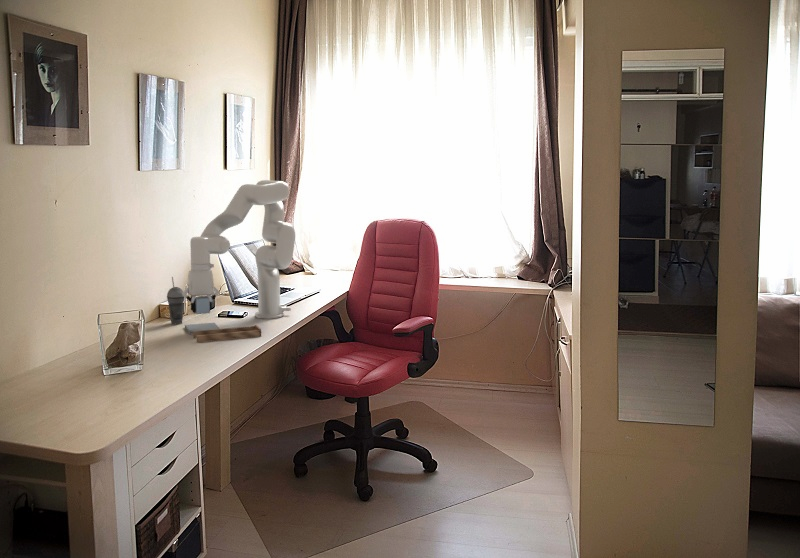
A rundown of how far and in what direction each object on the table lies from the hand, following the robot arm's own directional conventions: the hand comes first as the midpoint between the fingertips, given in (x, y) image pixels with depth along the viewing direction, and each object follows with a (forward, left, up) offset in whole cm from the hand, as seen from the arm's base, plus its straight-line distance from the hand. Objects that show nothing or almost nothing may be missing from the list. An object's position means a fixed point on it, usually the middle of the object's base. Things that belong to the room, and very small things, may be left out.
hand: (201, 311), depth 293 cm
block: (0, +1, 0) cm, 1 cm away
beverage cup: (+8, -15, -8) cm, 19 cm away
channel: (-7, +15, -8) cm, 18 cm away
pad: (0, 0, -8) cm, 8 cm away
